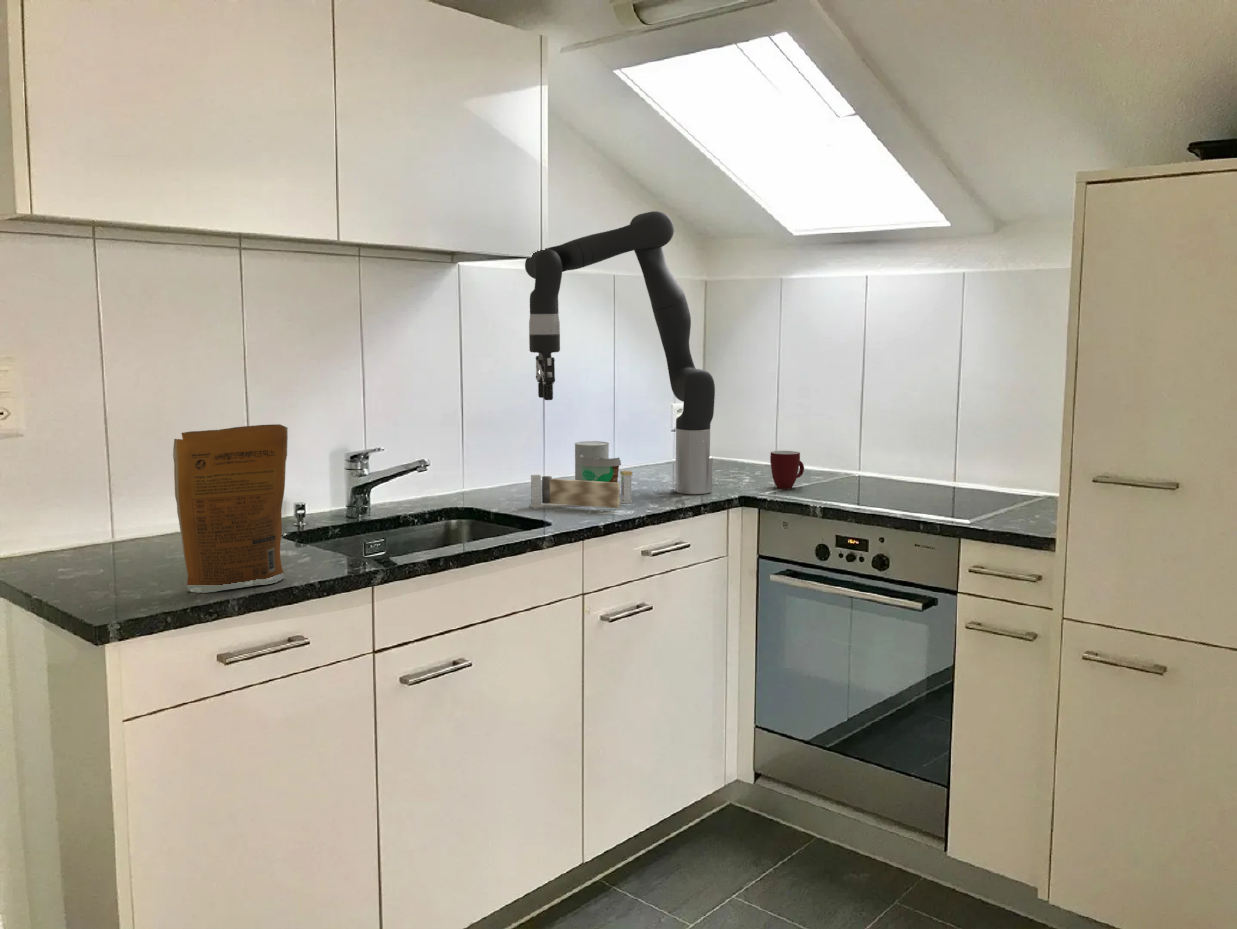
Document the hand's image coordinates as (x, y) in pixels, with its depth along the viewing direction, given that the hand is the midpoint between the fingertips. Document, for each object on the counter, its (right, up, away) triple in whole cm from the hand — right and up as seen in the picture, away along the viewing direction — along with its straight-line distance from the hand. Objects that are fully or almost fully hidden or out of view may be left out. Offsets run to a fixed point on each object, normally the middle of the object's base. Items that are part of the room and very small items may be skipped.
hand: (545, 398), depth 248 cm
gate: (+9, -26, -2) cm, 28 cm away
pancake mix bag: (-48, -38, -75) cm, 96 cm away
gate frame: (+9, -26, +4) cm, 28 cm away
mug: (+65, -23, +30) cm, 75 cm away
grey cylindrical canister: (+11, -23, +31) cm, 40 cm away
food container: (+12, -25, +19) cm, 33 cm away
